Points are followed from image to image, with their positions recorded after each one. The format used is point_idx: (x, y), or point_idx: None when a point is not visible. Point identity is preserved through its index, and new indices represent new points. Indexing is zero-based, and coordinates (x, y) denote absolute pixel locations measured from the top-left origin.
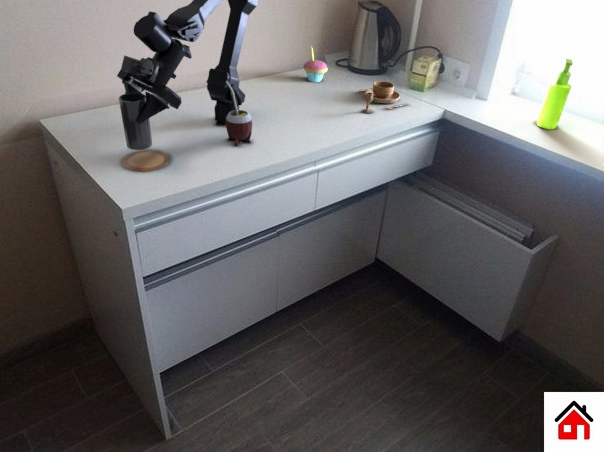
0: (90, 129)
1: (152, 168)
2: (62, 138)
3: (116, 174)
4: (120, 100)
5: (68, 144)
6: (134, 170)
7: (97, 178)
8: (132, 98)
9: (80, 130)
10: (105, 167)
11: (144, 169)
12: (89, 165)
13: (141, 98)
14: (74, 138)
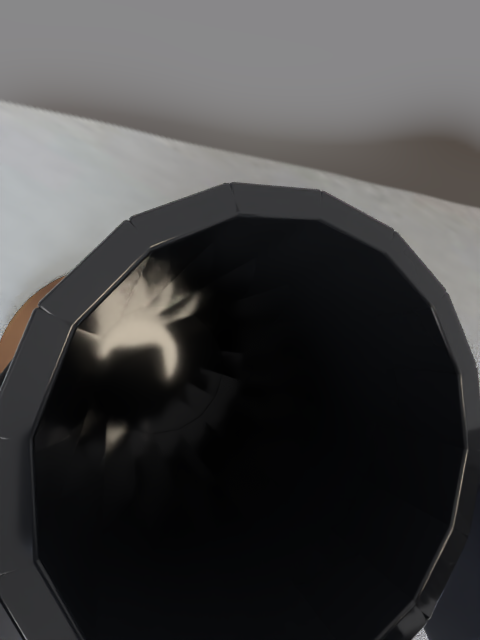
0: (468, 315)
1: (8, 357)
2: (451, 211)
3: (74, 201)
4: (276, 187)
5: (406, 202)
6: (55, 280)
7: (91, 124)
8: (390, 469)
9: (475, 284)
10: (168, 202)
11: (25, 320)
12: (222, 166)
13: (315, 595)
14: (435, 240)
